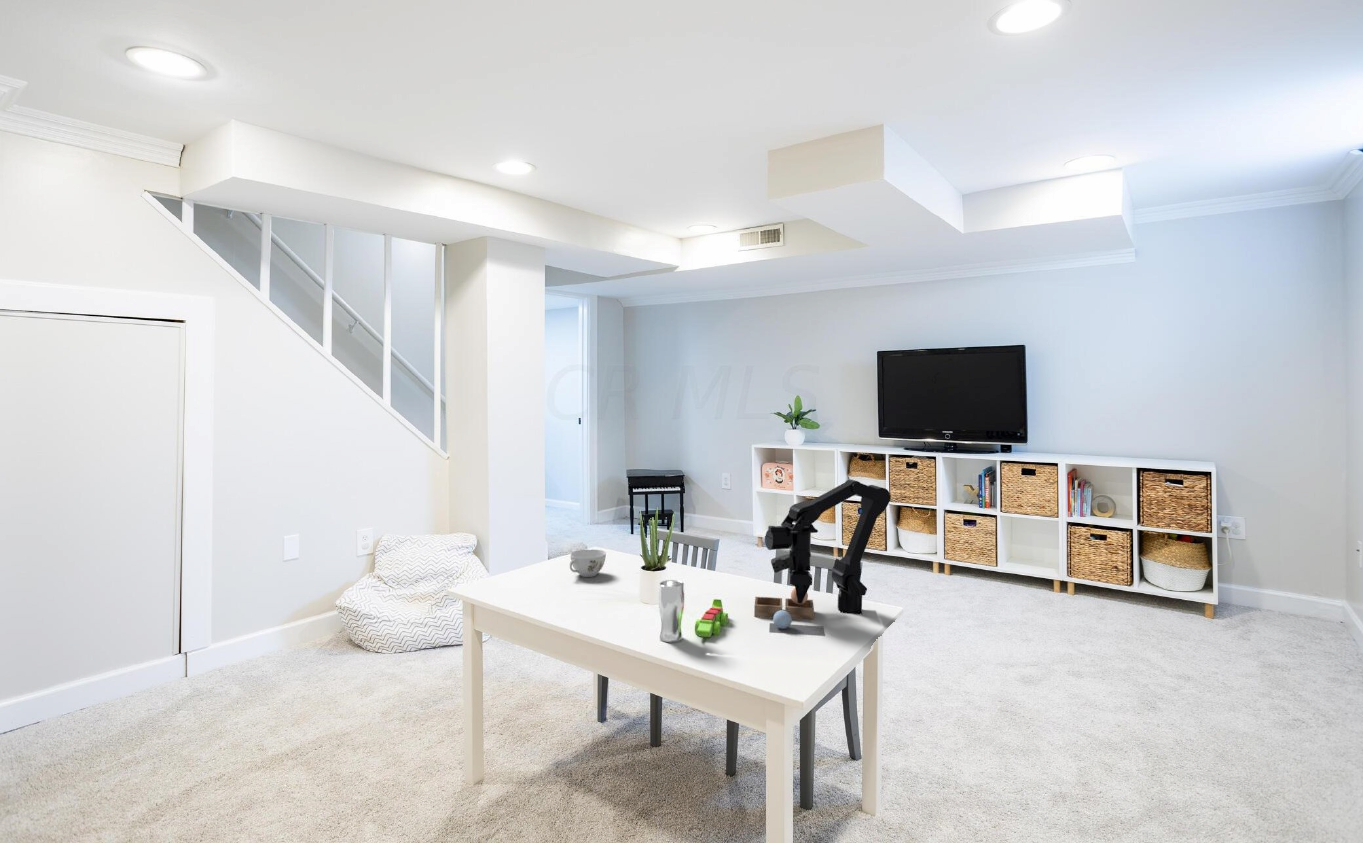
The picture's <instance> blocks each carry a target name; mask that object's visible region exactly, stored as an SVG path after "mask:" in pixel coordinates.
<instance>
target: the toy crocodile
mask: <svg viewBox="0 0 1363 843" xmlns="http://www.w3.org/2000/svg"><path fill="white" fill-rule="evenodd" d="M728 623H729V613H728V612H724V609H723V602H722V599H719V598H718V599H717V598H715V599H713V601H712V604H711V607H710V608H709V609H707V610H705V612H704V614H703V615H702V617H701V619H696V620H695V623H694V632H695V634H697V636H698V637H705V638H710V637H711V636H712V635H715V636H718V635H719V634H720V633H721V626H724V627H725V626H726V625H727V624H728Z"/></svg>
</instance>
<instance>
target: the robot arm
mask: <svg viewBox="0 0 1363 843" xmlns="http://www.w3.org/2000/svg"><path fill="white" fill-rule="evenodd" d="M854 496H858V497H861V499H860V510H861V511H860V514H859V517H858V519H857V522H856V525H855V528H854V531H853V533H852V535H851V538H850V541H849V544H848V547H847V549H846V552H845V554H844V556H842V558H840V559H839V558H836V559H835V560H834V565H833V566H832V568H831V569H830V571H831V578H832V581H833V583H834V584H836V588H837V589H838V590H839V594H837V609H838V611H839V612H840V614H849V615H851V614H852V615H863V610H862V609H863V596H866V594H867V591H868V588H867V587H866V586H865V585H864V584H863V582H862V581H861V576H862V564H861V562H862V559H863V557H864V553H865V550H866V548H867V545H868V543H869V541H870V537H871V536H872V533H873V530H874V527H875V525H876V523H877V522H876V521H877V519H878V517H880V516H881V514H883V513H884V512H885V511H886V509H887V507H888V506H889V504H890V501H891V498H892V497H891V496H892V495H891V493H890V491H889V490H888V489H887V488H885V487H882V486H878V485H874V484H870V485H867V484H864V483H862V482H860V481H859V480H854V479H851V478H850V479H847V480H846V481H844V483H841V484H840V485H837V486H836V487H834V488H833V489H831V490H829V491H827V492H825V493H823V494H821V495H819V496H817V497H816V498H813V499H809V500H804V501H799V502H797V503H794V504H793V505H791V506H790V507H789V511H788V514H787V515H786V516H785V518H784V519H783V521H782V522H781V524H780V525H776V526H775V525H768V528H767V531H766V533H765V535H764V543H765V544H764V545H765V547H766V548H767V550H768V551H772V550H773V551H774V550H788V549H789V548H790V549H789V553H788V554H787V553H786V554H783V555H780V556H778V557H774V558H772V559H770V564H771V566H772V569H773V570H772V571H773V572H774V573H775V574H776V573H780V572H781V571H784V570H787V569H789V572H788V573H789V584H790V585H792V586H794V588H795V589H796V595H797V600H798V603H802V602H803V599H804V597H805V595H806V593H808V591H809V588H810V587H811V586H813V576H812V574H811V557H812V553H811V545H812V544H811V541H812V538H811V537H812V535H811V534H813V533H815V534H816V533H818V532H819V530H818V529H817V528H815V526H814V525H813V524H814V523H816V522H817V521H818V520H819V518H820V517H821V515H822V514H824V512H826V511H828V510H830V509H832V508H834V507H835V506H837V505H840V504H841V503H843V502H845V501H846V500H848V499H850V498H852V497H854Z"/></svg>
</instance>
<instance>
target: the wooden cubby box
mask: <svg viewBox="0 0 1363 843" xmlns="http://www.w3.org/2000/svg"><path fill="white" fill-rule="evenodd" d="M784 602H785V607H784V609H785V610H784V611H787V612H788V613H789V614H790V616H791V620H801V621H814V620H815V619H814V618H815V615H814V614H815V607H814V599H807V601H806V602H805V603H804V604H796V603H794V602H793V601H792V599H791V598H787V597H786V598H785V600H784Z"/></svg>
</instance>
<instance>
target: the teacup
mask: <svg viewBox="0 0 1363 843" xmlns="http://www.w3.org/2000/svg"><path fill="white" fill-rule="evenodd" d="M606 556H607V552H606V551H605V550H602V549H579V550H575V551H572V552H571V553H570V562H569V569H570V571H571V572H572V573H577V574H579V575H580V576H581V577H583V578H591V577H596V576H597V575H598V573H600V571H601V570H602V569H603V567H604V565H605V562H606ZM572 567H573V568H572Z"/></svg>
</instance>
